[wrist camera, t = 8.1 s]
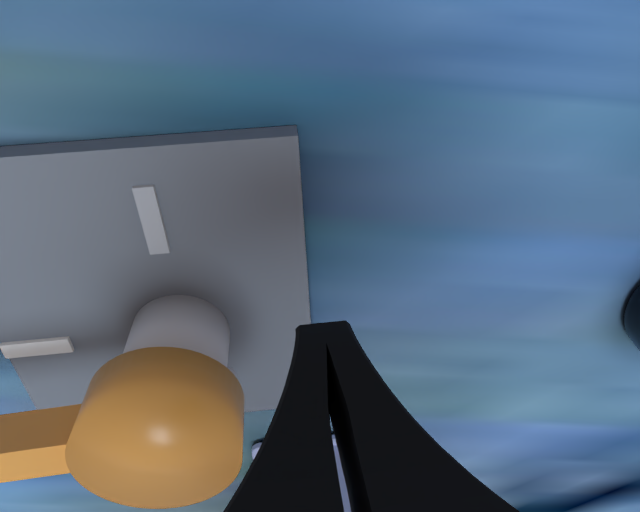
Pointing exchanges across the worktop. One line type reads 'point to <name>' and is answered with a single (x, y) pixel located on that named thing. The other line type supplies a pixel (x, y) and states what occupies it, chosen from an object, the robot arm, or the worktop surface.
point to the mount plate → (153, 256)
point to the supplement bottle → (633, 317)
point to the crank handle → (138, 431)
